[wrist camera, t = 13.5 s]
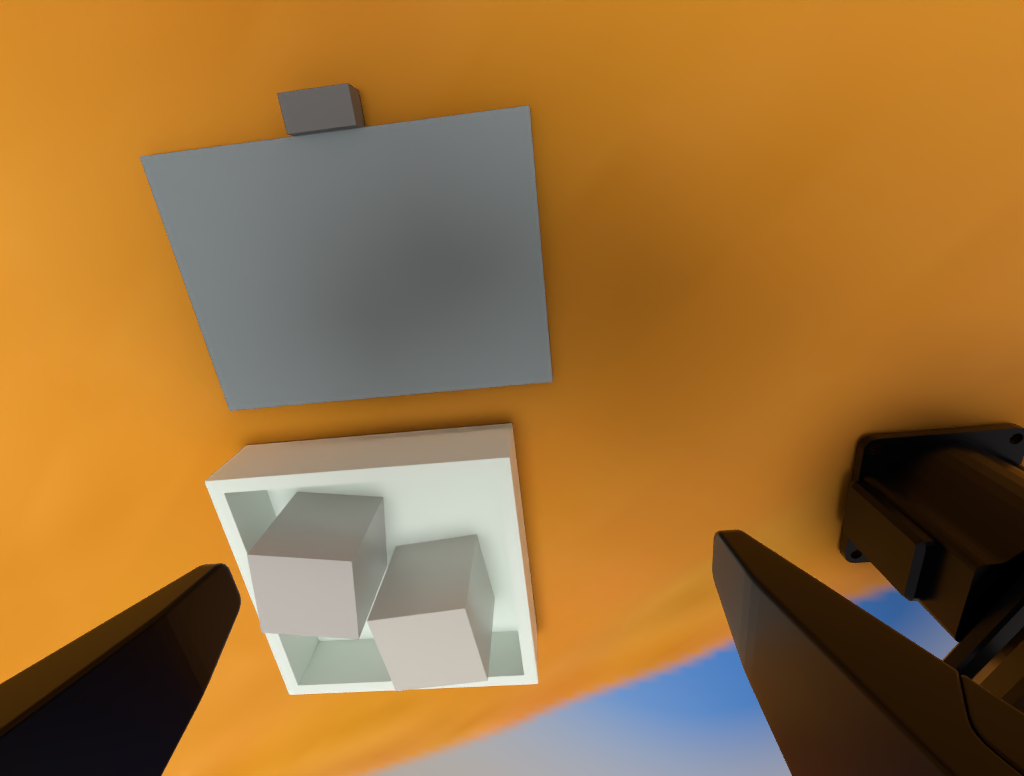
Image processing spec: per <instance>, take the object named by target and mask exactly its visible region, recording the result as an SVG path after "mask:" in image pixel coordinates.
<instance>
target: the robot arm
mask: <svg viewBox="0 0 1024 776" xmlns="http://www.w3.org/2000/svg"><path fill="white" fill-rule="evenodd" d="M1011 436H1012V437H1011ZM875 444H876V446H875V447H874V448H873V449H872V450H870V448H871V447H872V446H873V445H875ZM1023 456H1024V428H1022V427H1020V426H1018V425H1016V424H1000V425H987V426H974V427H962V428H949V429H936V430H923V431H910V432H897V433H885V434H872V435H868V436H865V437H864V438H862V439H861V440H860V442H859V444H858V447H857V453H856V458H855V464H854V470H853V476H852V482H851V485H850V487H849V492H848V497H847V503H846V509H845V515H844V521H843V527H842V532H843V534H842V540H841V546H840V553H841V554H842V555H843V557H844V558H845V559H846V560H847V561H849V562H851V563H861V562H871V563H872V564H873V565H874V566H875V567H876V568H877V569H878V570H879V571H880V572H881V573H882V574H883V575H884V577H885V578H886V579H887V580H888V581H889V582H890V583H891V584H892V585H893V586H894V587H895V588H896V589H897V590H898V591H899V593H900V594H901V595H902V596H904V597H905V598H906V599H908V600H909V601H918V602H919V603H920V604H921V605H922V606H923V607H924V608H925V609H926V610H927V611H928V612H929V613H930V614H931V615H932V616H933V617H934V618H935V619H936V620H937V621H938V622H939V623H940V624H941V626H942V627H943V628H944V629H945V630H946V631H947V632H948V633H949V634H950V635H951V636H952V637H953V638H954V639H955V640H956V641H957V642H959V643H958V644H957V645H956V646H955V647H954V648H953V649H952V650H951V652H949V654H948V655H947V656H946V657H945V658H944V659H943V660H940V659H939V658H937V657H935V656H934V655H932V654H931V653H929V652H928V651H926V650H925V649H923V648H922V647H920V646H919V645H917V644H915V643H914V642H912V641H911V640H909V639H908V638H906V637H905V636H903V635H902V634H900V633H899V632H897V631H895V630H894V629H892V628H891V627H889V626H888V625H886V624H884V623H883V622H882V621H880V620H879V619H877V618H875V617H874V616H872V615H871V614H869V613H868V612H866V611H865V610H863V609H862V608H860V607H859V606H857V605H855V604H854V603H852V602H851V601H849V600H848V599H846V598H845V597H843V596H842V595H840V594H839V593H837V592H835V591H834V590H832V589H831V588H829V587H828V586H826V585H825V584H823V583H822V582H820V581H818V580H817V579H815V578H814V577H812V576H811V575H809V574H808V573H806V572H805V571H803V570H802V569H800V568H798V567H797V566H795V565H794V564H792V563H791V562H789V561H788V560H786V559H785V558H783V557H782V556H780V555H778V554H777V553H775V552H774V551H772V550H771V549H769V548H768V547H766V546H765V545H763V544H762V543H760V542H758V541H757V540H755V539H754V538H752V537H751V536H749V535H748V534H746V533H745V532H743V531H741V530H724V531H718V532H716V533H715V536H714V545H713V563H712V572H713V578H714V582H715V585H716V588H717V591H718V594H719V597H720V600H721V603H722V606H723V609H724V612H725V615H726V618H727V621H728V624H729V627H730V630H731V633H732V636H733V639H734V642H735V645H736V648H737V651H738V654H739V657H740V660H741V662H742V665H743V668H744V670H745V673H746V675H747V677H748V680H749V682H750V684H751V687H752V689H753V691H754V693H755V695H756V698H757V700H758V702H759V704H760V706H761V709H762V711H763V713H764V715H765V717H766V719H767V722H768V724H769V726H770V728H771V731H772V733H773V735H774V737H775V739H776V742H777V744H778V746H779V748H780V750H781V752H782V754H783V757H784V759H785V761H786V763H787V766H788V768H789V770H790V772H791V774H792V776H1024V466H1022V465H1021V462H1022V459H1023ZM854 550H855V551H854ZM853 551H854V552H853ZM240 605H241V597H240V594H239V591H238V589H237V586H236V584H235V581H234V579H233V577H232V574H231V572H230V569H229V568H228V567H227V566H226V565H225V564H221V563H219V564H205V565H201V566H199V567H197V568H195V569H194V570H192V571H190V572H189V573H187V574H185V575H184V576H182V577H180V578H179V579H177V580H175V581H174V582H172V583H170V584H168V585H167V586H165V587H163V588H162V589H160V590H158V591H157V592H155V593H153V594H152V595H150V596H148V597H147V598H145V599H143V600H141V601H140V602H138V603H136V604H135V605H133V606H131V607H130V608H128V609H126V610H125V611H123V612H121V613H120V614H118V615H116V616H114V617H113V618H111V619H109V620H108V621H106V622H104V623H103V624H101V625H99V626H98V627H96V628H94V629H93V630H91V631H89V632H87V633H86V634H84V635H82V636H81V637H79V638H77V639H76V640H74V641H72V642H71V643H69V644H67V645H66V646H64V647H62V648H60V649H59V650H57V651H55V652H54V653H52V654H50V655H49V656H47V657H45V658H44V659H42V660H40V661H39V662H37V663H35V664H33V665H32V666H30V667H28V668H27V669H25V670H23V671H22V672H20V673H18V674H17V675H15V676H13V677H12V678H10V679H8V680H6V681H5V682H3V683H1V684H0V776H161V775H162V774H163V772H164V770H165V768H166V766H167V764H168V762H169V760H170V758H171V756H172V754H173V753H174V751H175V749H176V747H177V745H178V743H179V741H180V739H181V737H182V735H183V733H184V732H185V730H186V728H187V726H188V724H189V722H190V720H191V718H192V716H193V714H194V712H195V711H196V709H197V707H198V705H199V703H200V701H201V699H202V697H203V695H204V692H205V690H206V688H207V686H208V683H209V681H210V679H211V677H212V674H213V672H214V669H215V667H216V665H217V662H218V660H219V658H220V655H221V653H222V650H223V648H224V646H225V643H226V641H227V638H228V636H229V634H230V631H231V629H232V627H233V624H234V622H235V619H236V617H237V615H238V612H239V609H240Z"/></svg>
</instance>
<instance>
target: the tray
mask: <svg viewBox="0 0 1024 776" xmlns="http://www.w3.org/2000/svg"><path fill="white" fill-rule="evenodd" d="M205 484H206V486H207V489H208V491H209V494H210V496H211V499H212V501H213V504H214V506H215V509H216V511H217V514H218V516H219V519H220V521H221V524H222V526H223V529H224V532H225V534H226V537H227V539H228V542H229V544H230V547H231V549H232V552H233V554H234V557H235V559H236V562H237V564H238V567H239V569H240V572H241V574H242V577H243V579H244V582H245V584H246V587H247V589H248V592H249V594H250V597H251V599H252V602H253V604H254V607H255V609H256V612H257V614H258V610H257V605H256V600H255V595H254V589H253V584H252V579H251V574H250V569H249V563H248V558H247V554H248V553H249V551H250V550H251V549H252V548H253V546H254V545H255V544H256V542H257V541H258V540H259V539H260V537H261V536H262V535H263V534H264V532H265V531H266V530H267V529H268V527H269V526H270V525H271V524H272V522H273V521H274V520H275V519H276V517H277V516H278V515H279V514H280V512H281V511H282V510H283V509H284V507H285V506H286V505H287V504H288V502H289V501H290V500H291V499H292V497H293V496H294V495H295V494H296V492H311V493H326V494H342V495H358V496H373V497H383V499H384V516H385V534H386V551H387V568H388V565H389V563H390V560H391V557H392V555H393V552H394V550H395V547H396V546H400V545H407V544H414V543H421V542H427V541H434V540H441V539H448V538H455V537H461V536H468V535H475V534H477V537H478V540H479V544H480V547H481V551H482V555H483V558H484V562H485V565H486V569H487V572H488V576H489V579H490V583H491V586H492V590H493V593H494V597H495V604H494V615H493V627H492V638H491V649H490V661H489V672H488V681H481V682H473V683H464V684H455V685H446V686H437V687H428V688H420V689H432V688H455V687H477V686H500V685H523V684H538V638H537V623H536V615H535V607H534V599H533V590H532V582H531V574H530V565H529V557H528V549H527V541H526V532H525V524H524V516H523V508H522V499H521V491H520V483H519V475H518V466H517V458H516V450H515V442H514V433H513V425H512V423H506V424H494V425H482V426H470V427H458V428H446V429H434V430H423V431H411V432H399V433H387V434H375V435H363V436H351V437H339V438H327V439H315V440H303V441H291V442H280V443H268V444H256V445H246V446H245V447H244V448H242V449H241V450H240V451H239V452H238V453H237V454H236V455H234V456H233V457H232V458H231V459H230V460H229V461H227V462H226V463H225V464H224V465H223V466H222V467H221V468H219V469H218V470H217V471H216V472H215V473H214V474H212V475H211V476H210V477H209V478H208V479H207V480H206V481H205ZM387 568H386V570H387ZM385 573H386V571H385ZM385 573H384V576H385ZM384 576H383V578H384ZM382 581H383V579H382ZM382 581H381V583H382ZM380 586H381V584H380ZM380 586H379V588H380ZM378 591H379V589H378ZM378 591H377V594H378ZM377 594H376V596H377ZM375 599H376V597H375ZM375 599H374V601H375ZM373 604H374V602H373ZM373 604H372V607H373ZM372 607H371V609H372ZM371 609H370V612H371ZM370 612H369V614H370ZM258 617H259V616H258ZM368 617H369V615H368ZM368 617H367V619H368ZM265 634H266V637H267V639H268V642H269V644H270V647H271V649H272V652H273V654H274V657H275V659H276V662H277V664H278V667H279V669H280V672H281V675H282V677H283V680H284V682H285V685H286V687H287V690H288V692H289V695H295V694H318V693H341V692H363V691H386V690H395V688H394V685H393V683H392V681H391V678H390V676H389V673H388V671H387V669H386V666H385V664H384V661H383V659H382V656H381V654H380V652H379V649H378V647H377V644H376V642H375V640H374V637H373V635H372V632H371V630H370V628H369V625H368V623H367V620H366V622H365V625H364V627H363V630H362V633H361V635H360V638H359V639H346V638H331V637H317V636H302V635H287V634H272V633H265Z"/></svg>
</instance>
